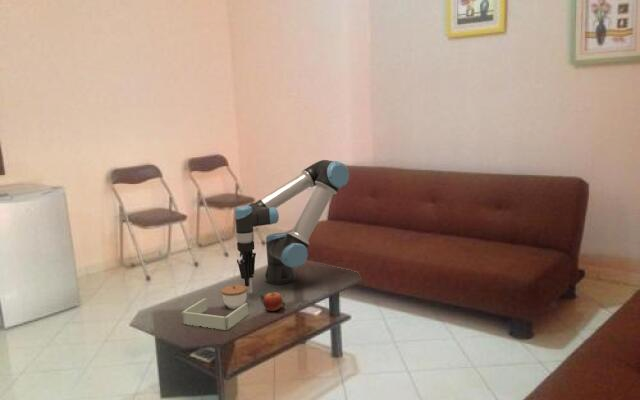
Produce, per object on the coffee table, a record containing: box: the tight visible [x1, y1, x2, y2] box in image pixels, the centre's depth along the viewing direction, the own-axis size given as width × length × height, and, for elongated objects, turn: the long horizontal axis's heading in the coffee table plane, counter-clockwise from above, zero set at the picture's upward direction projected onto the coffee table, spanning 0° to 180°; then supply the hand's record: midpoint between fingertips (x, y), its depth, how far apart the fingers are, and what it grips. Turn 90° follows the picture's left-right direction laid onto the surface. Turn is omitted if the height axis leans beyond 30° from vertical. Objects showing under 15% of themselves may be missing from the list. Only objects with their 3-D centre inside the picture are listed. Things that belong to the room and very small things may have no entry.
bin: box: [180, 298, 249, 331], centre depth 215 cm, size 16×21×5 cm
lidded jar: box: [221, 284, 248, 310], centre depth 229 cm, size 11×11×9 cm
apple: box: [262, 291, 284, 312], centre depth 223 cm, size 8×8×8 cm
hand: (248, 292), depth 240 cm, fingers closed
